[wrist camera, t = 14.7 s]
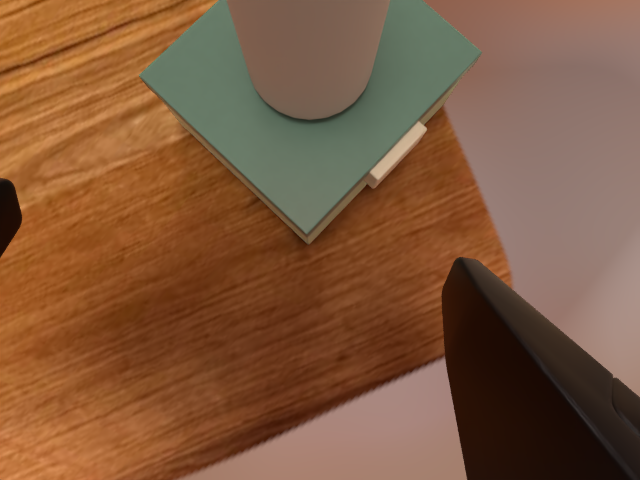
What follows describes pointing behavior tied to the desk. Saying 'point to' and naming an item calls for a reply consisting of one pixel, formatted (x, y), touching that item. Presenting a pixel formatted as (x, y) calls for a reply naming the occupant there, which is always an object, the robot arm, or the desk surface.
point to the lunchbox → (318, 134)
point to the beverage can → (309, 51)
